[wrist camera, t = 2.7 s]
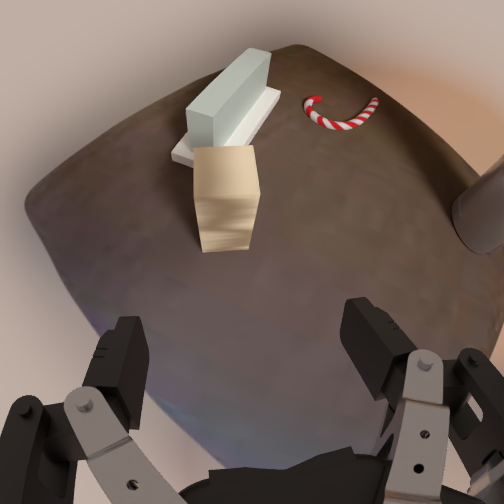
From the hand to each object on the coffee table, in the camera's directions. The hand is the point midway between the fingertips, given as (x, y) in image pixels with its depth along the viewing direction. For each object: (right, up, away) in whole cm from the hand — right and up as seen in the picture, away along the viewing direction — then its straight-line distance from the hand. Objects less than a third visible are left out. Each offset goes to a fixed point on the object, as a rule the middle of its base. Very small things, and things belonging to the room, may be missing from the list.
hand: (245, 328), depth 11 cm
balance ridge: (-2, +19, +24) cm, 31 cm away
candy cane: (+15, +25, +29) cm, 41 cm away
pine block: (-3, +5, +19) cm, 20 cm away
